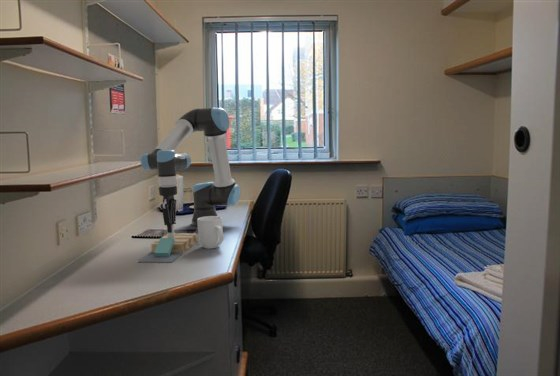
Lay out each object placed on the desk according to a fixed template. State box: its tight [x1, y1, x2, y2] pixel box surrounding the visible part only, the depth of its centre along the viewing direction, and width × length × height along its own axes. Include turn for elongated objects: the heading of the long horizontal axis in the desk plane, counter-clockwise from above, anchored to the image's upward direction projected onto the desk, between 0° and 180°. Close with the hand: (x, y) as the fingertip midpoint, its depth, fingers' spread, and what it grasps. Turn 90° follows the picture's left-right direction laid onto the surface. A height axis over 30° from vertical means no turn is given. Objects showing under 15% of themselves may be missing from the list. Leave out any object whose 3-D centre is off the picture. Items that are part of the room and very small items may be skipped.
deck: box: [150, 233, 198, 254], centre depth 205 cm, size 20×14×4 cm
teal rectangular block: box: [154, 237, 175, 256], centre depth 192 cm, size 9×6×2 cm
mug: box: [196, 215, 224, 250], centre depth 202 cm, size 15×11×13 cm
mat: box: [137, 251, 184, 264], centre depth 189 cm, size 14×14×1 cm
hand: (171, 239), depth 200 cm, fingers closed
